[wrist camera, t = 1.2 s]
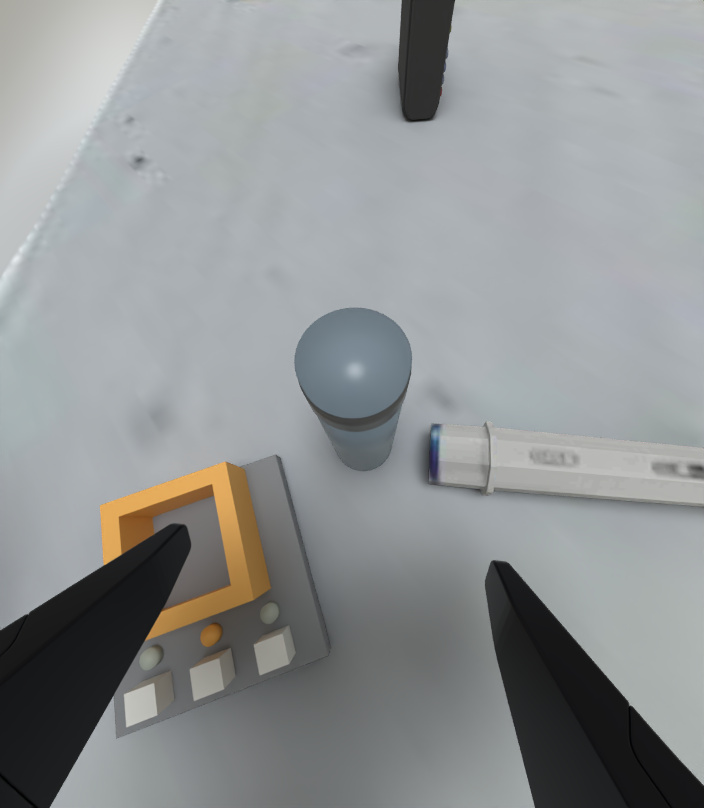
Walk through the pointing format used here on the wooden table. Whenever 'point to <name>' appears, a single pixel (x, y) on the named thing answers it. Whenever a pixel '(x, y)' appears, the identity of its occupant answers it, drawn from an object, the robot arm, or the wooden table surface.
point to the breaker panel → (218, 590)
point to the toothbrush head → (564, 465)
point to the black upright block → (423, 54)
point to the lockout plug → (355, 381)
